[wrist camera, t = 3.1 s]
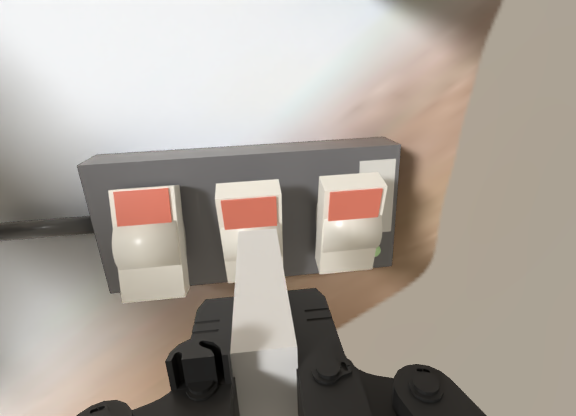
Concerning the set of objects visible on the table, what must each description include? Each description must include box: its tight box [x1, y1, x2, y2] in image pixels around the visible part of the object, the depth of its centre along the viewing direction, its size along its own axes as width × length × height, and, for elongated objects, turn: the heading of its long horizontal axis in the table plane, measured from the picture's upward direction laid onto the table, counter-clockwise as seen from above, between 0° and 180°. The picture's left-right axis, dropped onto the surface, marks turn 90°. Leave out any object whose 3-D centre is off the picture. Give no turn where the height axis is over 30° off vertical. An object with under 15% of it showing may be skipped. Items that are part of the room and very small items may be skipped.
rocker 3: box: [315, 172, 388, 274], centre depth 23 cm, size 4×7×3 cm, turn 2°
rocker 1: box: [108, 185, 190, 304], centre depth 21 cm, size 4×7×3 cm, turn 2°
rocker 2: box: [215, 179, 283, 283], centre depth 22 cm, size 4×7×3 cm, turn 2°
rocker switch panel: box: [0, 137, 401, 293], centre depth 25 cm, size 27×9×3 cm, turn 92°
